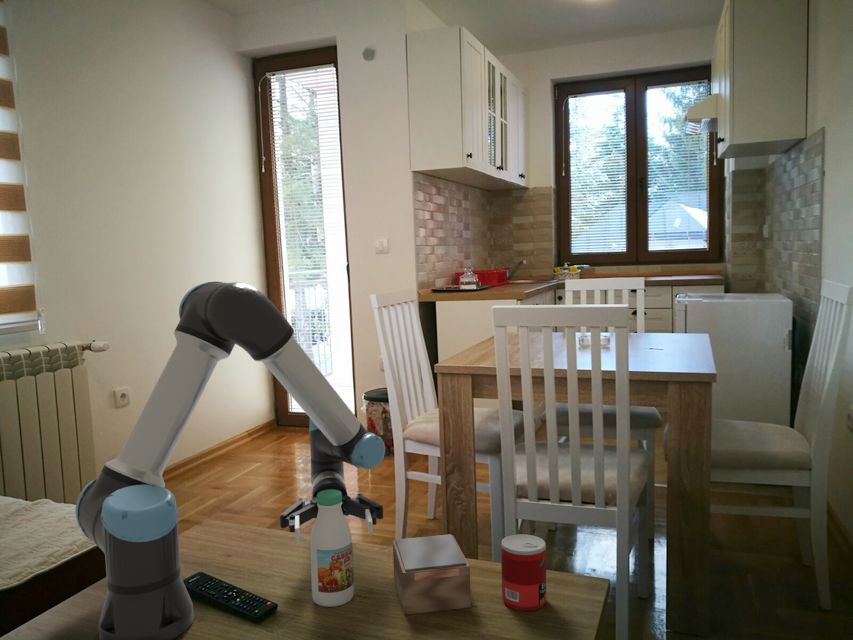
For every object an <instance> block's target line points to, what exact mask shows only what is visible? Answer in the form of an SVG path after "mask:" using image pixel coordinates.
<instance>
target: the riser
mask: <svg viewBox="0 0 853 640" xmlns="http://www.w3.org/2000/svg"><path fill="white" fill-rule="evenodd" d="M392 553H393V555H392V556H393V557H392V560H393V563H392V564H393V579H394V583H395V586H396V591H397V594H398V597H399V602H400V605H401V608H402V613H403V615H404V616H405V615H414V614H415V615H416V614H423V613H432V612H440V611H447V610H448V611H449V610H455V609H456V610H459V609H465V608H466V609H467V608H471V607H472V606H471V568H470V567H471V566H470V564H469V561H468V560H467V559H466V557H465V555H464V553H463V551H462V549H461V547H460V545H459V544H458V542H457V540H456V538H455V536H454V534H450V533H448V534H439V535H431V536H430V535H428V536H418V537H408V538H407V537H406V538H400V539H394V540H392Z"/></svg>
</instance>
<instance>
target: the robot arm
mask: <svg viewBox="0 0 853 640" xmlns="http://www.w3.org/2000/svg"><path fill="white" fill-rule="evenodd" d="M179 304H180V305H179V308H178V316H179V319H180V320H179V322H178V324H177V325H176V327H175V330H174V332H173V334H174V337H175V341H176V345H175V347H174V349H173V351H172V353H171V355H170V357H169V358H168V361H167V362H166V364H165V367H164V368H163V370H162V372H161V373H160V375H159V377H158V379H157V382H156V384H155V385H154V388H153V389H152V391H151V393H150V395H149V397H148V399H147V401H146V403H145V404H144V407H143V409H142V411H141V413H140V415H139V416H138V419H137V421H136V422H135V424H134V426H133V428H132V430H131V432H130V433H129V435H128V437H127V439H126V441H125V444H124V445H123V447H122V449H121V451H120V453H119V455H118V457H116V458H113V459H112V460H110V461H107V462H105V464H104V465H103V468H102V469H101V471H100V472H99V475H98V476H97V477H96V478H94V479H92V480H91V481H89V482H88V483H87V484H86V485H85V486H84V487H83V489H82V490H81V492H80V493H79V494H78V497H77V499H76V500H77V501H76V503H75V504H76V505H75V517H76V518H75V519H76V521H77V524H78V526H79V528H80V530H81V532H82V534H84V536H85V537H87V538H88V539H89V540H90V541H92V542H93V543H94V545H96V546H97V547H98V548H99V549H100V550H101V551H102V552H103V553H104V558H105V571H106V572H105V573H106V583H107V587H106V588H107V590H106V591H107V592H106V595H105V596H106V597H105V599H104V603H103V606H102V611H101V614H100V617H99V621H98V638H99V639H98V640H174V639H176V638H177V637H179V636H181V635H182V634H184V633H185V632H186V631H187V630H188V629H189V628H190V627H191V625H192V624H193V622H194V618H195V615H194V605H193V601H192V598H191V596H190V593H189V592H188V590H187V588H186V585H185V583H184V580H183V578H182V575H181V557H180V539H179V536H180V535H179V522H178V521H179V520H178V519H179V510H178V506H177V502H176V497H175V495H174V493H172V491H171V490H170V489H168V488H166V483H165V481H164V478H163V473H164V471H165V469H166V467H167V466H168V465H167V464H168V463H169V461H170V460H171V457H172V456H173V453H174V451H175V449H176V447H177V444H178V443H179V441H180V439H181V436H183V435H182V434H183V433H184V431H185V429H186V427H187V424H188V422H189V420H190V419H191V416H192V415H193V412H194V410H195V409H196V406H197V404H198V403H199V400H200V399H201V396H202V394H203V393H204V390H205V388H206V386H207V384H208V383H209V380H210V378H211V376H212V374H213V372H214V370H215V368H216V366H217V364H218V362H220V361H222V360H225V359H228V358H229V357H230V356H231V354H232V351H233V350H234V347H235V345H237V346H239V348H242V350H244V351H245V352H246V353H247V354H248V355H249V356H250V357H251V359H253V361H255V362H262V363H263V364H264V365H265V366H266V368H267V369H268V370H269V371H270V372H271V374H272V375H273V376H274V377H275V378H276V380H278V382H279V383H280V384H281V386H283V388H284V389H285V391H287V393H288V394H289V395H290V396H291V397H292V399H293V400H294V401H295V402H296V403H297V404H298V406H299V407H300V408H301V410H303V412H304V413H305V414H306V415H307V416H308V417H309V426H308V427H309V430H308V433H309V447H310V448H309V449H310V450H309V451H310V483H311V498H312V499H311V500H309V501H306V500H304V498H302V497H300V498H297V500H296V502H295V503H293V504H292V505H291V506H289V507H288V508H287V509H286V510H284V511H283V512H282V513H281V514H279V521H280V522H279V525H280V529H286V528H287V527H288V531H289V533H294V536H295V537H294V538H295V539H294V540H295V542H294V543H295V544H297V543H300V541H301V540H300V535H301V534H300V533H301V532H300V529H301V525H303V524H305V523H307V522H309V521H311V520H313V519H316V518H317V515H318V509H319V508H318V506H317V494H318V493H319V492H321V491H323V490H330V489H333V490H339V491H341V493H342V505H341V509H342V512H343V515H344V517H347V516H353V517H355V518H359V519H362V520H365V527H366V528H367V532H368V536H369V537H370V536H373V535H374V530H373V527H374V526H375V525H377V523H378V522H377V521H378V520H383V519H384V505H382V504H380V503H378V502H377V501H374V500H372V499H370V498H369V497H366V496H365V495H364V494H363V493H360V492H359V493H357V495H356V496H355V497H350V496H349V495H348V491H347V490H348V489H347V485H346V482H345V471H344V470H345V469H344V467H345V466H344V463H346V464H348V465H351V466H354V467H355V468H358V469H365V470H373V469H375V468H376V467H377V466H379V465H380V464H381V463H382V461H383V460H384V457H385V454H386V446H385V442H384V440H383V439H382V438H381V436H379V435H377V434H375V433H373V432H370V431H368V430H367V429H366V427H365V426H364V425H363V424H362V423H361V421H360V420H359V419H358V418H357V417H356V416H355V414H354V413H353V412H352V410H351V409H350V407H349V406H348V405H347V404H346V402H345V401H344V400H343V399H342V397H341V396H340V395H339V393H338V392H337V391H336V390H335V388H334V387H333V386H332V385H331V383H330V382H329V381H328V379H326V376H325V375H323V373H322V372H321V371H320V370H319V368H318V367H317V366H316V364H315V363H314V362H313V360H312V359H311V358H310V357H309V355H308V354H307V353H306V351H305V350H304V349H303V348H302V346H301V345H300V344H299V342H298V341H297V340H296V339H295V338H294V337H295V336H294V335H295V330H294V328H293V326H292V325H291V323H289V321H288V320H287V319H286V317H285V316H284V315H283V314H282V312H281V311H280V310H279V309H278V307H276V305H275V304H274V303H273V302H272V301H271V300H270V299H269V298H268V297H267V295H265V294H264V293H263V292H262V291H260V290H259V289H258V288H256V287H254V286H252V285H251V284H248V283H245V282H237V281H236V282H224V281H223V282H222V281H207V282H204V283H200V284H197V285H196V286H193V287H192V288H190V289H189V290H188V291H187V292H186V293H185V294H184V296H183V298H182V300H181V301H180V303H179Z"/></svg>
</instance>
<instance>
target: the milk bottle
mask: <svg viewBox="0 0 853 640" xmlns="http://www.w3.org/2000/svg"><path fill="white" fill-rule="evenodd" d="M341 505H342V493H341V491H339V490H333V489H330V490H323V491H321V492H319V493H318V494H317V506H318V508H319V509H318V515H317V518H315V521H314V523H313V526H312V529H311V533H310V547H309V548H310V573H311V574H310V575H311V576H310V577H311V597H312V598H311V599H312V600H313V602H314V603H315V604H317V605H318V606H319V607H326V608H329V607H330V608H331V607H338V606H339V607H340V606H343V605H345V604H348V603H349V602H350V601H351V600H352V599H353V596H354V594H355V580H354V579H355V578H354V556H353V555H354V554H353V553H354V552H353V539H352V533H351V529H350V525H349V523H348V521H347V519H346V516H345V515H343V512H342V509H341Z"/></svg>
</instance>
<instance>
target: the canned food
mask: <svg viewBox="0 0 853 640" xmlns="http://www.w3.org/2000/svg"><path fill="white" fill-rule="evenodd" d="M546 545H547V544H546V542H545V540H544V539H542V538H541V537H539V536H536V535H532V534H524V533H523V534H521V533H520V534H512V535H508V536H505V537H504V538H502V539H501V545H500V547H501V548H500V549H501V550H500V553H501V555H500V557H501V558H500V560H501V561H500V563H501V564H500V565H501V598H502V599H503V600H502V601H503V602H504V604H505V605H506V606H508V607H509V608H511V609H513V610H516V611H521V612H522V611H524V612H530V611H535V610H539V609H541V608H543V606H545V604H546V601H547V546H546Z"/></svg>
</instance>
